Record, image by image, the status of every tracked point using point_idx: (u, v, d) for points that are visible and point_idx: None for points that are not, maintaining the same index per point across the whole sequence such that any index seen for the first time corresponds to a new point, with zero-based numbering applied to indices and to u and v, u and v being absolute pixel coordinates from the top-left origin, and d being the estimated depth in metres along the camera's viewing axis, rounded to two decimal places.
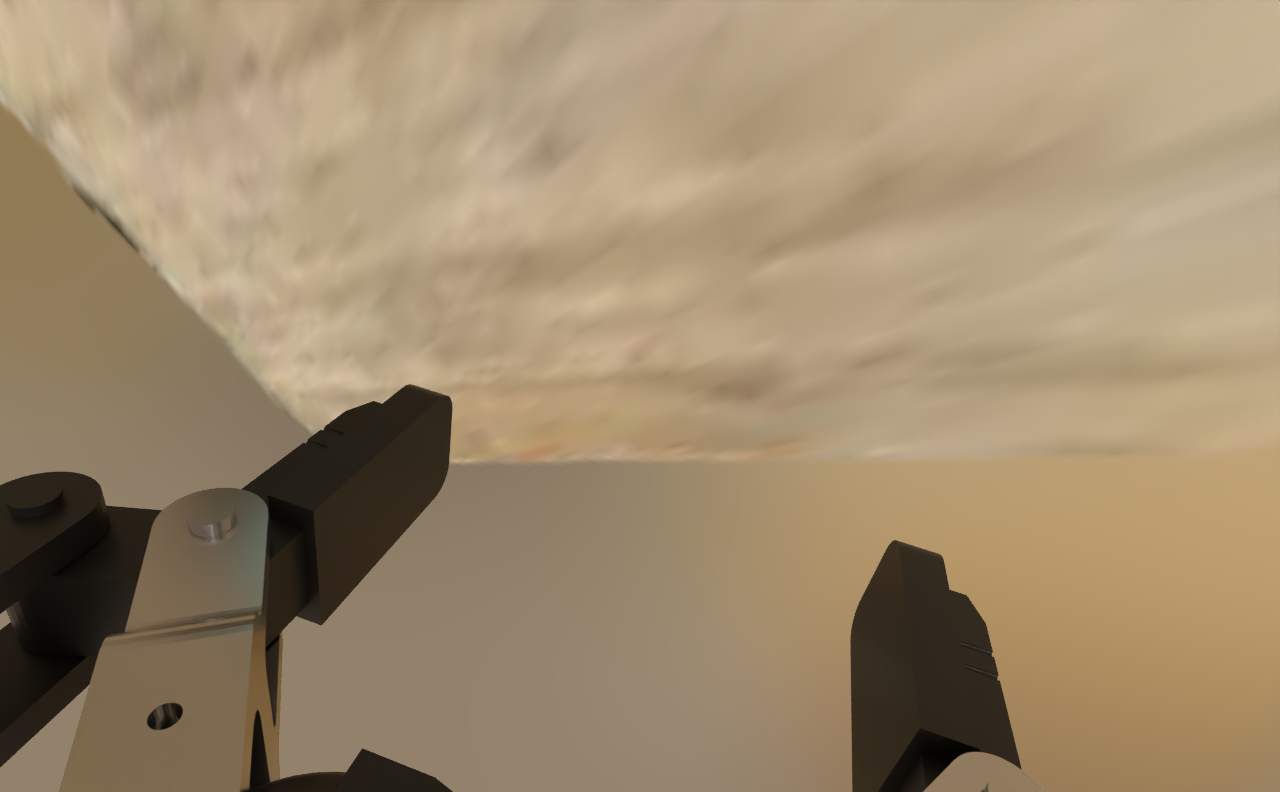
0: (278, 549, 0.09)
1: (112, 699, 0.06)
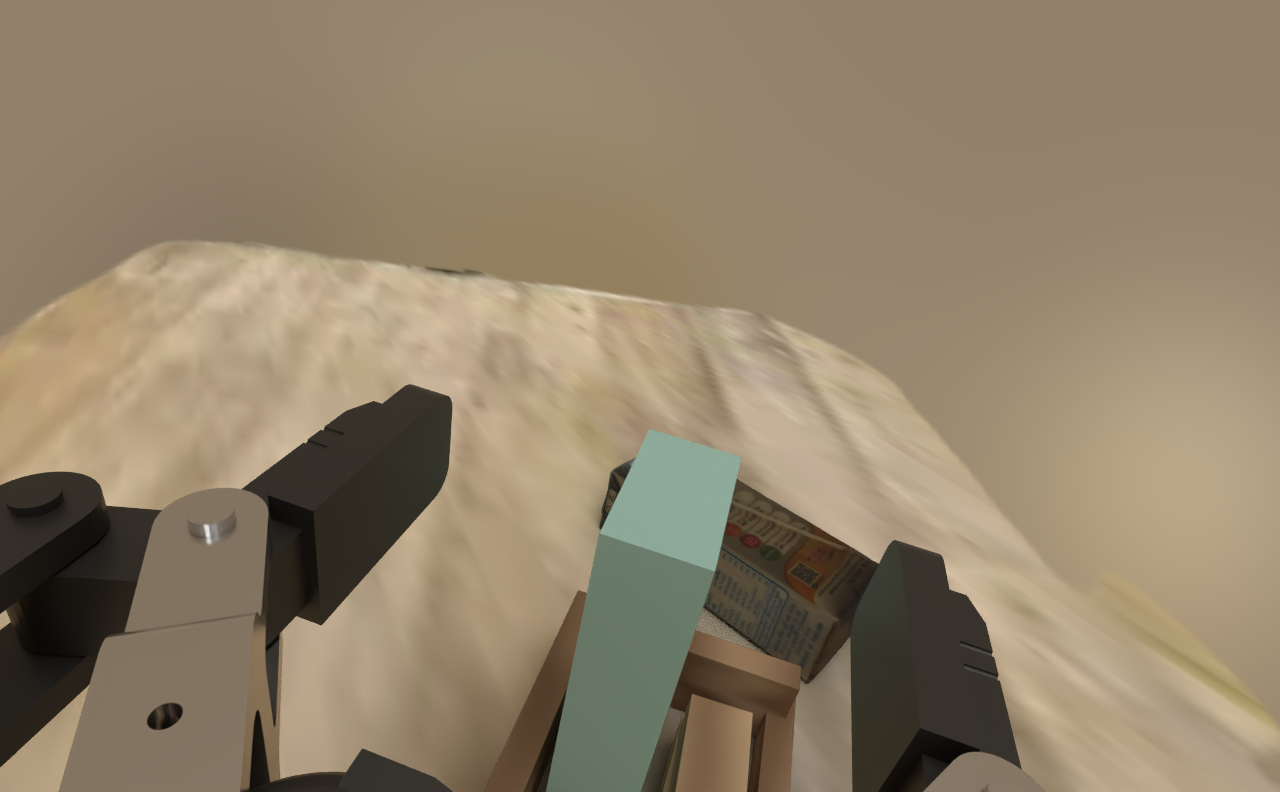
0: (279, 550, 0.09)
1: (112, 699, 0.06)
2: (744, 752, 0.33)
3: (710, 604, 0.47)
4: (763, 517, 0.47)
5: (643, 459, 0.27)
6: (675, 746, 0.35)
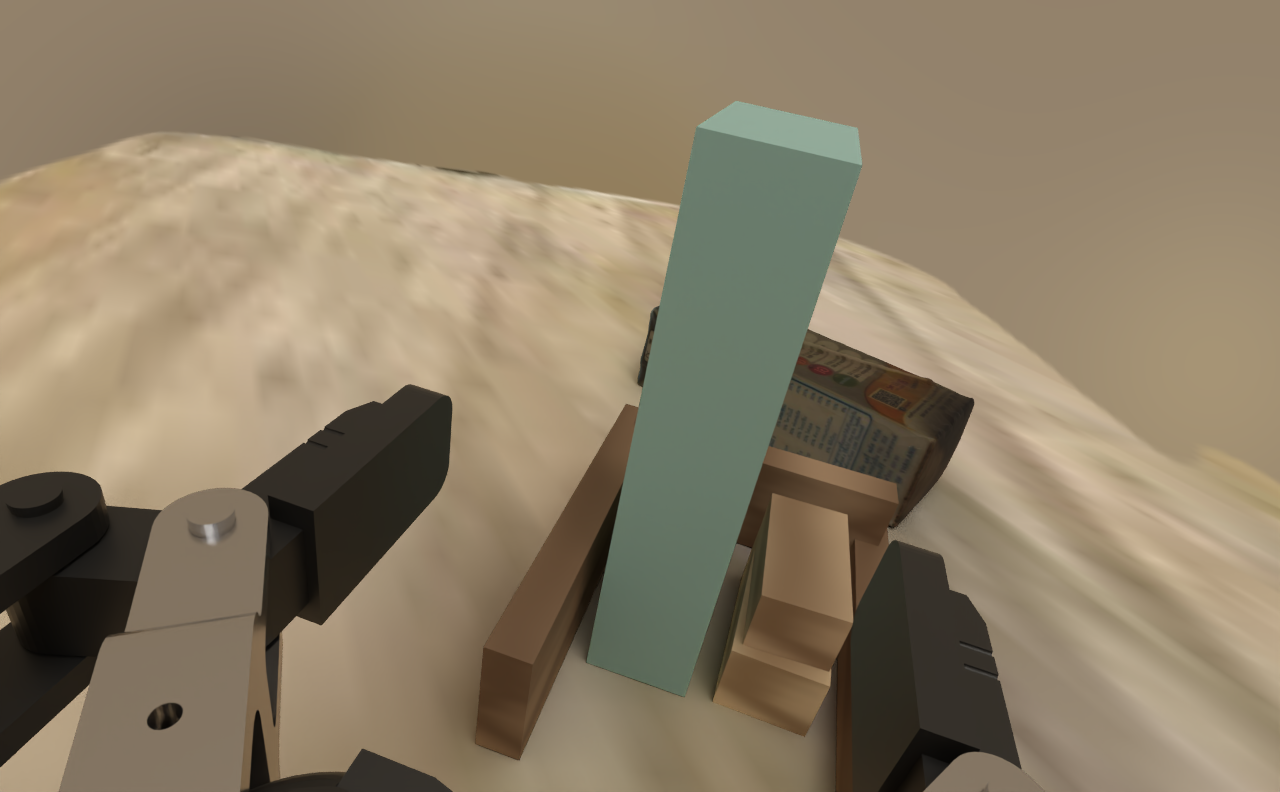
0: (278, 549, 0.09)
1: (112, 699, 0.06)
2: (843, 548, 0.26)
3: None
4: (831, 352, 0.41)
5: (735, 109, 0.20)
6: (752, 561, 0.29)
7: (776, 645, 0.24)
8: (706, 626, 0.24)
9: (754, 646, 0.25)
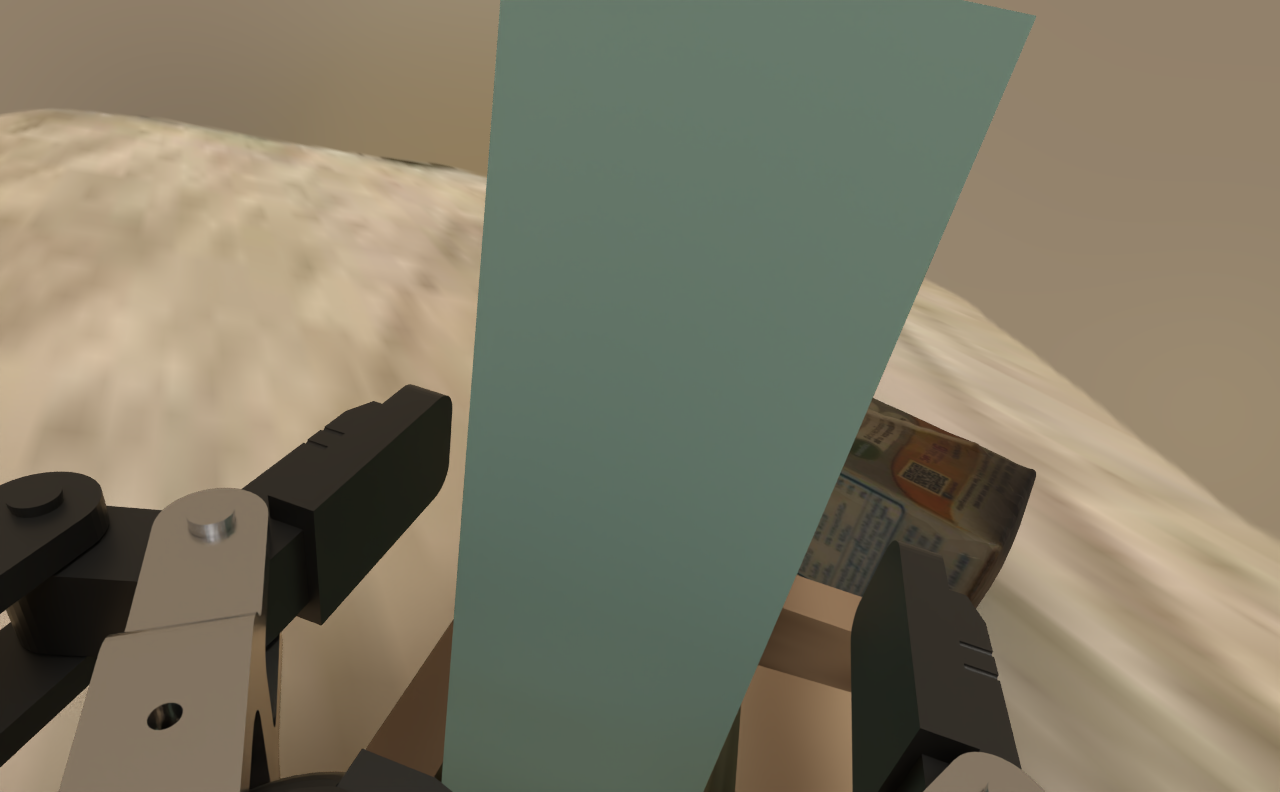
0: (278, 549, 0.09)
1: (111, 699, 0.06)
2: None
3: None
4: None
5: None
6: None
7: None
8: None
9: None
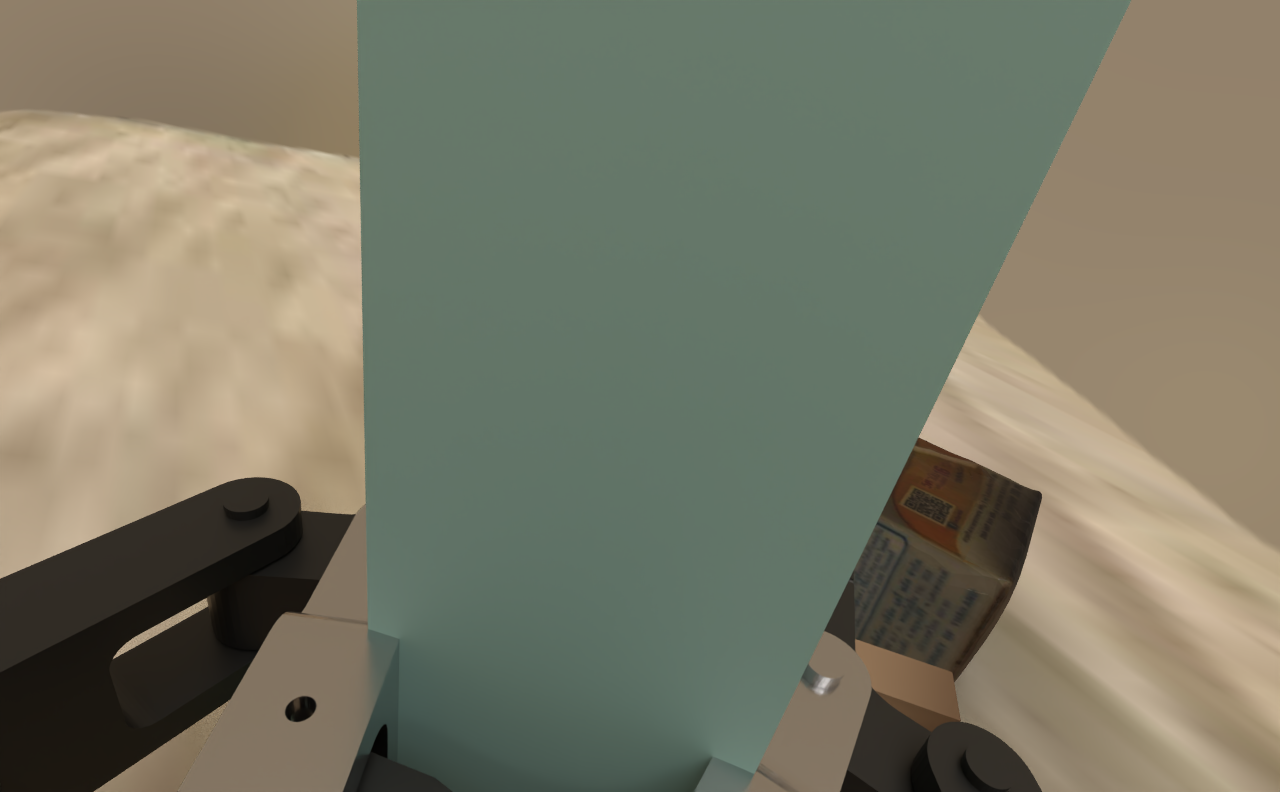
0: None
1: (266, 676, 0.06)
2: None
3: None
4: None
5: None
6: None
7: None
8: None
9: None
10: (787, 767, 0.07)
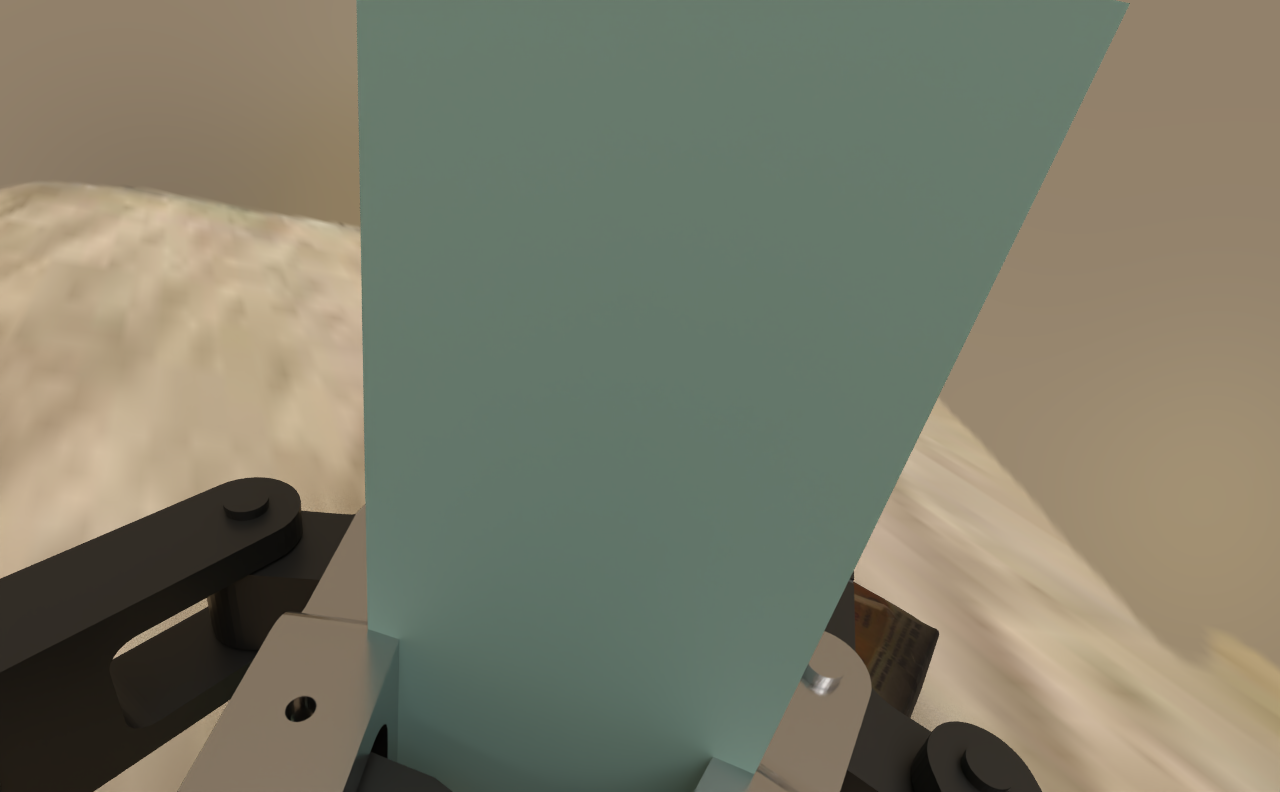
0: None
1: (267, 676, 0.06)
2: None
3: None
4: None
5: None
6: None
7: None
8: None
9: None
10: (787, 767, 0.07)
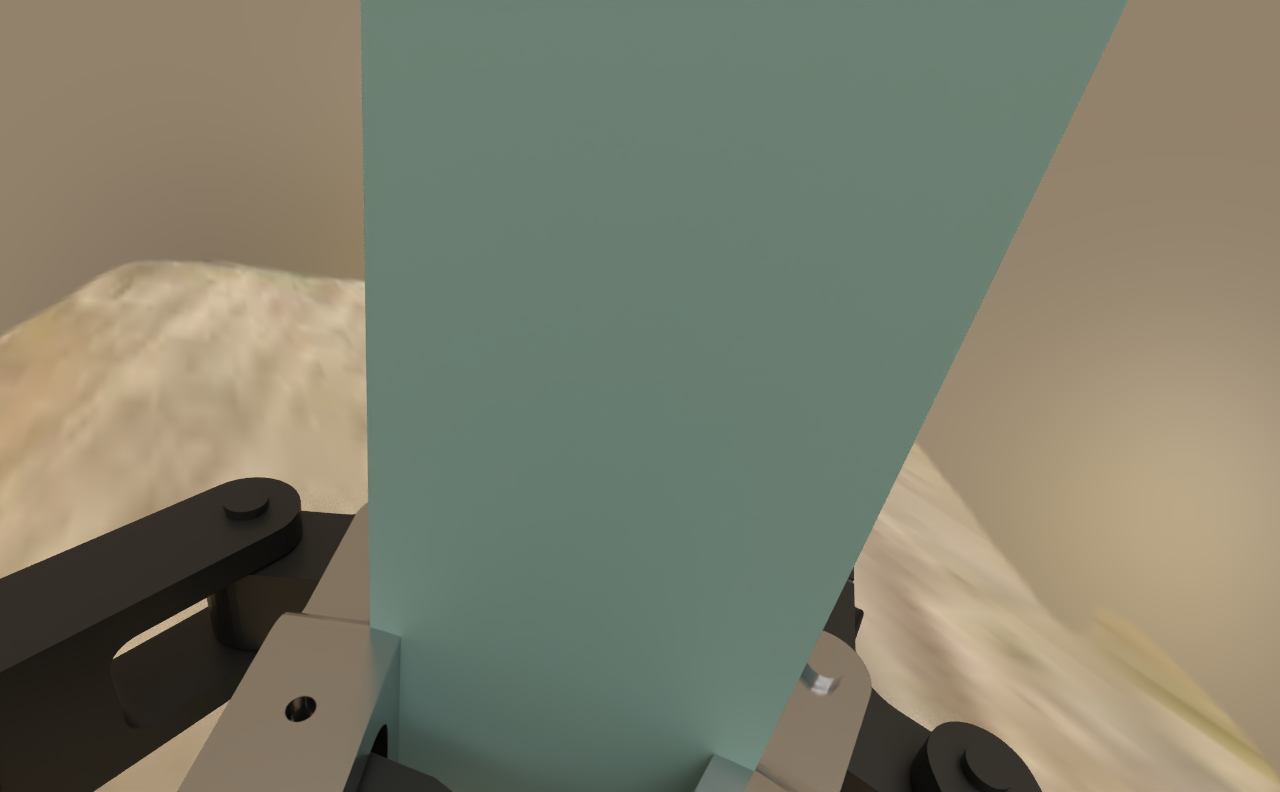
0: None
1: (266, 676, 0.06)
2: None
3: None
4: None
5: None
6: None
7: None
8: None
9: None
10: (787, 767, 0.07)
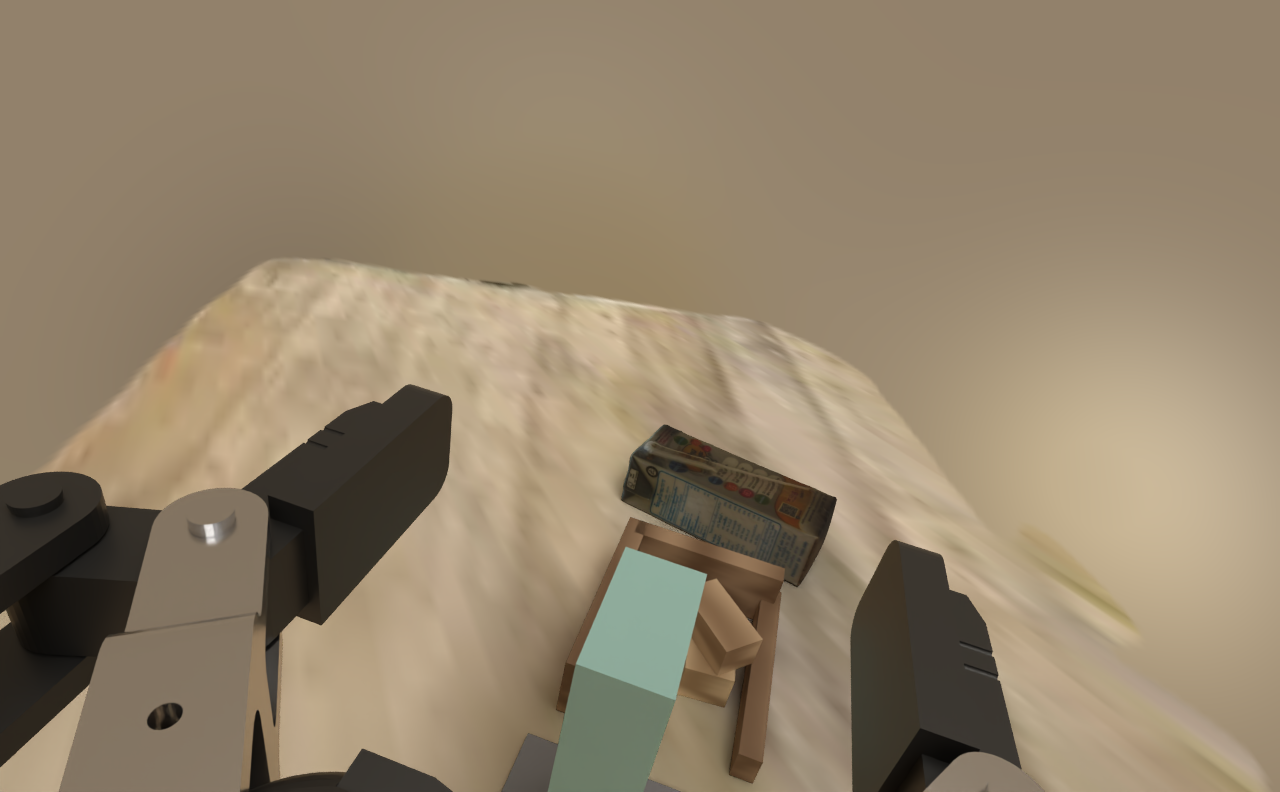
0: (279, 549, 0.09)
1: (112, 699, 0.06)
2: (730, 601, 0.51)
3: (719, 543, 0.63)
4: (749, 474, 0.64)
5: (618, 581, 0.30)
6: None
7: (731, 667, 0.48)
8: None
9: (722, 673, 0.48)
10: None
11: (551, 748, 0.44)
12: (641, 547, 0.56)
